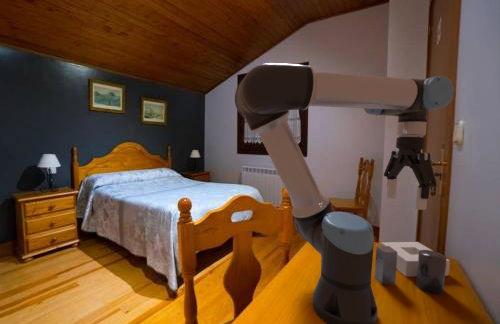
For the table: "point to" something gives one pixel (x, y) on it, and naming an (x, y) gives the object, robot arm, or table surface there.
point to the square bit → (385, 265)
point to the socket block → (409, 256)
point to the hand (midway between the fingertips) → (404, 203)
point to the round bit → (431, 272)
